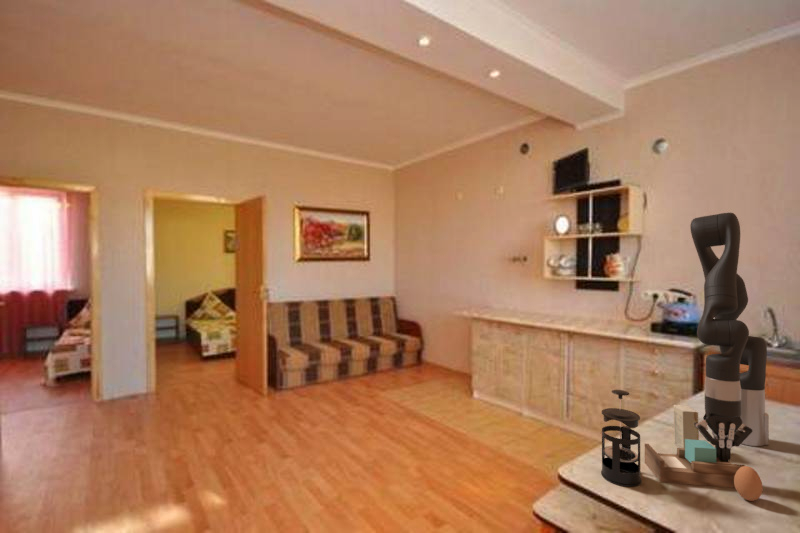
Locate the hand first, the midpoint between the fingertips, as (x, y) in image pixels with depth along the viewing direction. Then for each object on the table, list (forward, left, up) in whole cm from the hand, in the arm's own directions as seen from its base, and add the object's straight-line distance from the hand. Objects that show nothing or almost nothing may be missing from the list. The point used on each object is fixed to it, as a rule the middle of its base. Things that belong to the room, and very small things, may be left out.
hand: (722, 460), depth 106 cm
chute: (+7, 0, -5) cm, 8 cm away
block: (+5, 0, -1) cm, 5 cm away
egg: (0, +10, -5) cm, 11 cm away
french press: (+26, +4, -5) cm, 27 cm away
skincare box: (+1, -17, -5) cm, 18 cm away
